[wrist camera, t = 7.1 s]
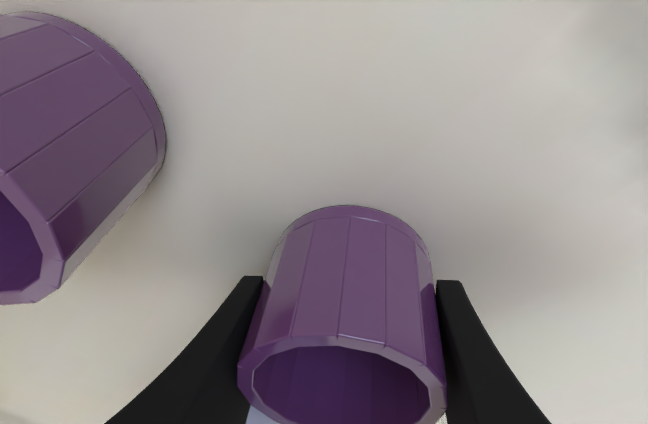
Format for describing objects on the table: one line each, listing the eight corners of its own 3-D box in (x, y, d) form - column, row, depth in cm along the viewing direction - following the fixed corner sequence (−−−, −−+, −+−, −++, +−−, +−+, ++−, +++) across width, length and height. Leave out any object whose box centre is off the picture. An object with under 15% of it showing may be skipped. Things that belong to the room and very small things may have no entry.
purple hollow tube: (456, 286, 13) (484, 426, 10) (332, 327, 15) (317, 451, 12) (377, 176, 11) (374, 307, 7) (245, 244, 13) (193, 367, 10)
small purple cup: (204, 140, 11) (114, 254, 7) (102, 215, 13) (-4, 328, 9) (31, -42, 8) (-234, -9, 5) (-55, 88, 11) (-276, 175, 7)
